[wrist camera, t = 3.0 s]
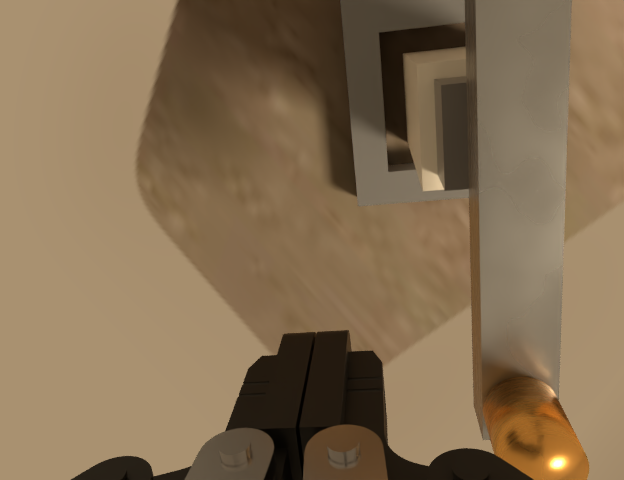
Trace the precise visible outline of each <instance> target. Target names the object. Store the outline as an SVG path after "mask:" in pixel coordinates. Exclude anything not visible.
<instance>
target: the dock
mask: <svg viewBox="0 0 624 480" xmlns="http://www.w3.org/2000/svg"><path fill="white" fill-rule="evenodd" d="M340 5H341V16H342V28H343V39H344V51H345V62H346V74H347V85H348V97H349V108H350V120H351V131H352V143H353V154H354V166H355V177H356V189H357V200H358V206H368V205H381V204H394V203H407V202H420V201H433V200H446V199H458V198H469V189H463V190H451V191H445V190H433V191H423V190H422V187H421V184H420V181H419V178H418V174H417V171H416V168H415V165H414V163H404V164H392V165H388V160H387V145H386V131H385V116H384V101H383V86H382V72H381V57H380V42H379V32H387V31H396V30H405V29H413V28H422V27H431V26H440V25H448V24H457V23H465V0H340Z"/></svg>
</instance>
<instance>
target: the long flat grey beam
mask: <svg viewBox="0 0 624 480" xmlns="http://www.w3.org/2000/svg"><path fill="white" fill-rule="evenodd" d="M571 7H572V0H465V41H466V85H467V129H468V173H469V217H470V262H471V306H472V346H473V347H472V349H473V393H474V408H475V412H476V416H477V419H478V423H479V427H480V430H481V434H482V438H483V440H491V444H492V447H493V451H494V454H495V455H496V456H498V457H500V458H501V459H503V460H505V461H506V462H508V463H509V464H511V465H512V466H514V467H515V468H517V469H518V470H520V471H521V472H523V473H525V474H526V475H528V476H529V477H531V478H532V479H534V480H587V477H588V474H589V462H588V459H587V456H586V454H585V452H584V450H583V448H582V446H581V444H580V442H579V440H578V438H577V436H576V434H575V432H574V430H573V428H572V426H571V424H570V422H569V420H568V418H567V416H566V414H565V412H564V410H563V408H562V406H561V405H560V402H559V373H560V344H561V343H560V342H561V313H562V312H561V311H562V283H563V251H564V221H565V191H566V160H567V129H568V99H569V68H570V38H571Z"/></svg>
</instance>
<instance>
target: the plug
mask: <svg viewBox="0 0 624 480" xmlns="http://www.w3.org/2000/svg"><path fill="white" fill-rule="evenodd" d="M403 71H404V89H405V107H406V124H407V142H408V145H409V149H410V152H411V155H412V158H413V161H414V165H415V168H416V171H417V174H418V178H419V181H420V184H421V187H422V190H423V191H433V190H445V191H451V190H463V189H469V173H468V129H467V85H466V46H465V47H456V48H446V49H437V50H428V51H419V52H410V53H403Z"/></svg>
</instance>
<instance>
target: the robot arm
mask: <svg viewBox="0 0 624 480" xmlns="http://www.w3.org/2000/svg"><path fill="white" fill-rule="evenodd" d="M243 383H244V384H243V385H242V387H241V390H240V393H239V397H238V398H237V401H236V404H235V406H234V409H233V412H232V414H231V417H230V420H229V422H228V425H227V428H226V431H225V432H222V433H220V434H218V435H216V436H214V437H213V438H212V439H210V440H209V441H207V442H206V443H205V445H203V447H202V448H201V450H200V451H199V453H198V455H197V457H196V459H195V461H194V463H193V464H192V466H190V467H188V468H185V469H181V470H178V471H174V472H170V473H166V474H162V475H158V476H154V477H153V473H152V469H151V466H150V464H149V463H148V462H147V461H145V460H144V459H142V458H139V457H133V456H122V457H116V458H112V459H109V460H106V461H103V462H101V463H99V464H97V465H95V466H93V467H91V468H90V469H88V470H86V471H85V472H83V473H81V474H80V475H78V476H76V477H75V478H73V479H71V480H534V479H532V478H531V477H529V476H528V475H526V474H525V473H523V472H521V471H520V470H518V469H517V468H515V467H514V466H512V465H511V464H509V463H508V462H506V461H505V460H503V459H501V458H500V457H498V456H496V455H494V454H492V453H489V452H486V451H483V450H478V449H468V448H464V449H456V450H451V451H448V452H445V453H443V454H441V455H439V456H438V457H436V458H435V459H434V460H433V461H432V462H431V464H430V466H425V465H420V464H417V463H413V462H410V461H408V460H405V459H403V458H401V457H400V456H398V455H397V454H396V453H394V452H393V451H392V450H391V449H390V447H389V446H388V439H387V415H386V403H385V391H384V378H383V366H382V362H381V360H380V359H379V358H378V357H377V355H376V354H375V353H374V352H373V351H354V352H352V351H351V341H350V334H349V330H344V331H325V332H317V334H316V333H315V332H307V333H288V334H284V335H283V337H282V340H281V344H280V347H279V350H278V354H277V355H272V356H262V357H260V359H258V360H257V361H256V362H255V363H254V364H253V365H252V366H251V367H250V368H249V369H248V371H247V374H246V377H245V379H244V382H243Z"/></svg>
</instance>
